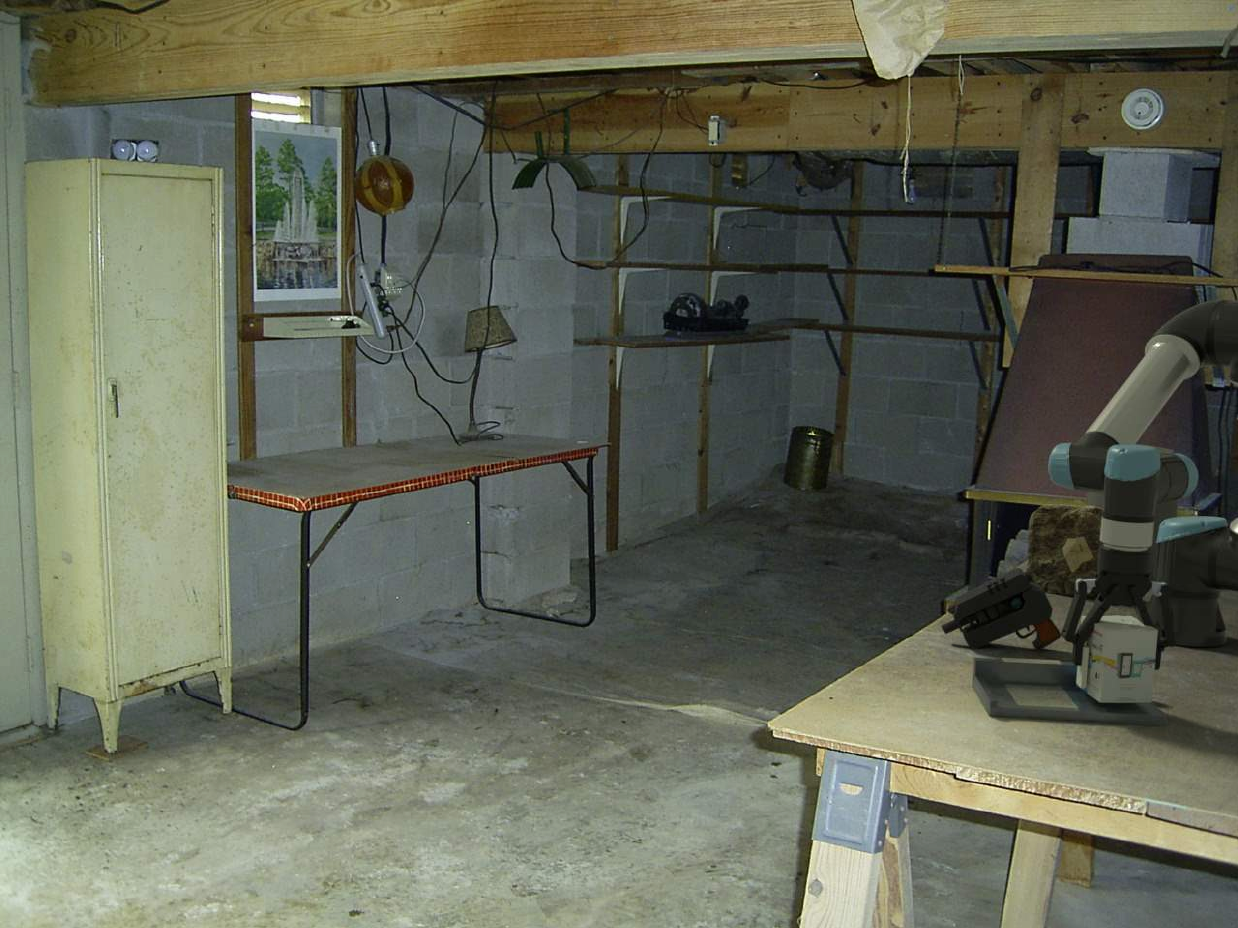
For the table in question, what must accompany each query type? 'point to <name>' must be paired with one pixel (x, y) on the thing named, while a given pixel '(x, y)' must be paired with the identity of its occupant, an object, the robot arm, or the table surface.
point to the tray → (1049, 694)
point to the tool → (1004, 611)
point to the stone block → (1064, 547)
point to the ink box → (1121, 660)
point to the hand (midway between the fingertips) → (1113, 687)
